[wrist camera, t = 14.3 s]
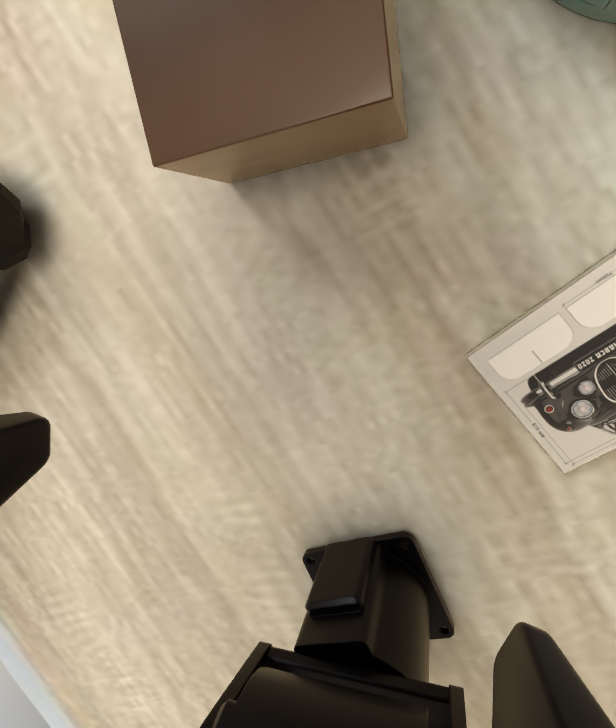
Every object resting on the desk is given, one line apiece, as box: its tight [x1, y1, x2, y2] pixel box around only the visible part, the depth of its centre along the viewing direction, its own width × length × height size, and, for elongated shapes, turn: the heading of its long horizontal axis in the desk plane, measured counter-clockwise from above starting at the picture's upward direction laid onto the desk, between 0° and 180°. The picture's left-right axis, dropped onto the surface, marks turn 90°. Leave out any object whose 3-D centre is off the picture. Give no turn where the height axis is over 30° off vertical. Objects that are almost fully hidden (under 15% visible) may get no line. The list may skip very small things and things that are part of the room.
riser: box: [113, 0, 408, 183], centre depth 14 cm, size 8×8×6 cm
